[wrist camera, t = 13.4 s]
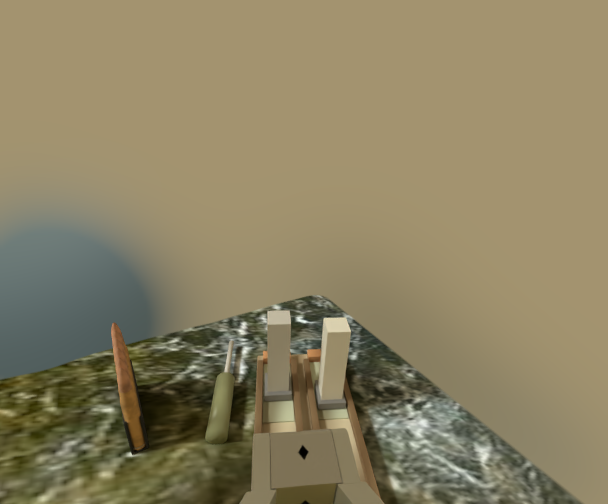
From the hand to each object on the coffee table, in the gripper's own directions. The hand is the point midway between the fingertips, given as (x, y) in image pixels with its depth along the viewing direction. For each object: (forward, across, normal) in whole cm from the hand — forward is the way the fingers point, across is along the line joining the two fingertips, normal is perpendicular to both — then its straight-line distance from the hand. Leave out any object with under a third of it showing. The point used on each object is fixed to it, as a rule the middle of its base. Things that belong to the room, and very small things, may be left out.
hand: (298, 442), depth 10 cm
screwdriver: (+27, +6, +28) cm, 39 cm away
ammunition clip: (+24, +17, +28) cm, 41 cm away
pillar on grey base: (+26, -1, +26) cm, 37 cm away
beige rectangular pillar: (+24, -8, +26) cm, 36 cm away
